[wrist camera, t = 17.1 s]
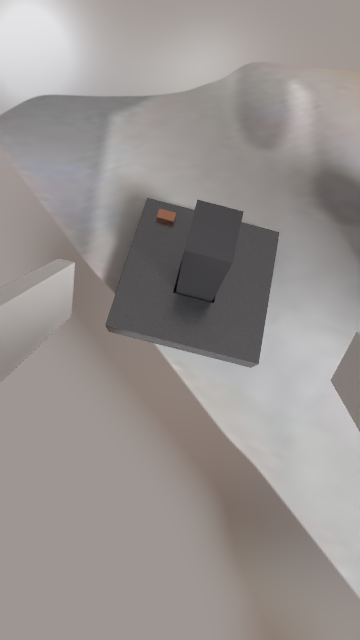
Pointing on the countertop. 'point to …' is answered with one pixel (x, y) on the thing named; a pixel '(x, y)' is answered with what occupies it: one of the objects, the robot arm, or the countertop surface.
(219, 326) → the socket plate
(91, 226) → the countertop surface
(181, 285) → the plug
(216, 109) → the countertop surface
